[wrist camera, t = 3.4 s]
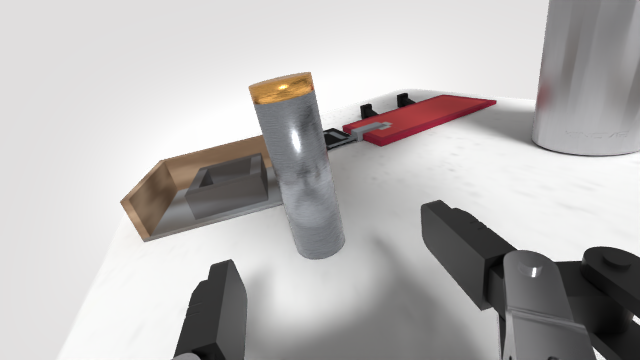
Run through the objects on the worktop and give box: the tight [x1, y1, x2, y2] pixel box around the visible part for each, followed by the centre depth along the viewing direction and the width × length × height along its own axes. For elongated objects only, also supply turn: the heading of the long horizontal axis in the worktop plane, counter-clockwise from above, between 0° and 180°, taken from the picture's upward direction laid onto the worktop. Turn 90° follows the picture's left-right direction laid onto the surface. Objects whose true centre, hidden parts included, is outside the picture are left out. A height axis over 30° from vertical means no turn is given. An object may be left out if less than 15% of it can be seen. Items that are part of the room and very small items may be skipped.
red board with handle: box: [323, 93, 496, 149], centre depth 48 cm, size 30×3×15 cm
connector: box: [249, 72, 345, 259], centre depth 20 cm, size 4×4×13 cm
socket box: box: [120, 135, 284, 242], centre depth 34 cm, size 12×19×5 cm, turn 101°
